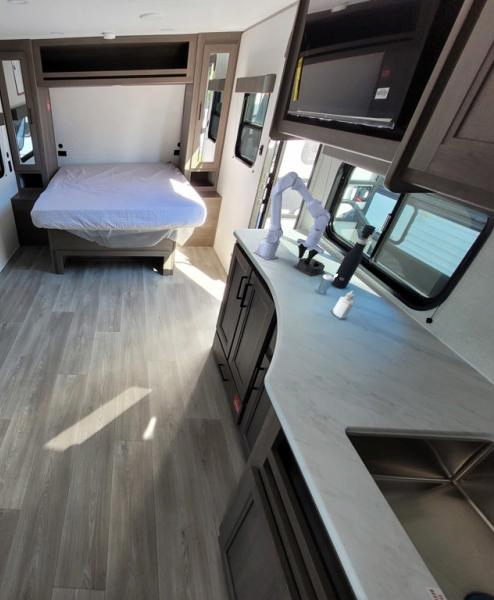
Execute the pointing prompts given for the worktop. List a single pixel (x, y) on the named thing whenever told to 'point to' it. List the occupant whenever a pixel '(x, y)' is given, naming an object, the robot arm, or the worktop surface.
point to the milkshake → (325, 283)
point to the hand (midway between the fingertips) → (303, 260)
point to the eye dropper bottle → (344, 305)
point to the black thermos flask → (352, 260)
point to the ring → (314, 269)
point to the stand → (309, 265)
